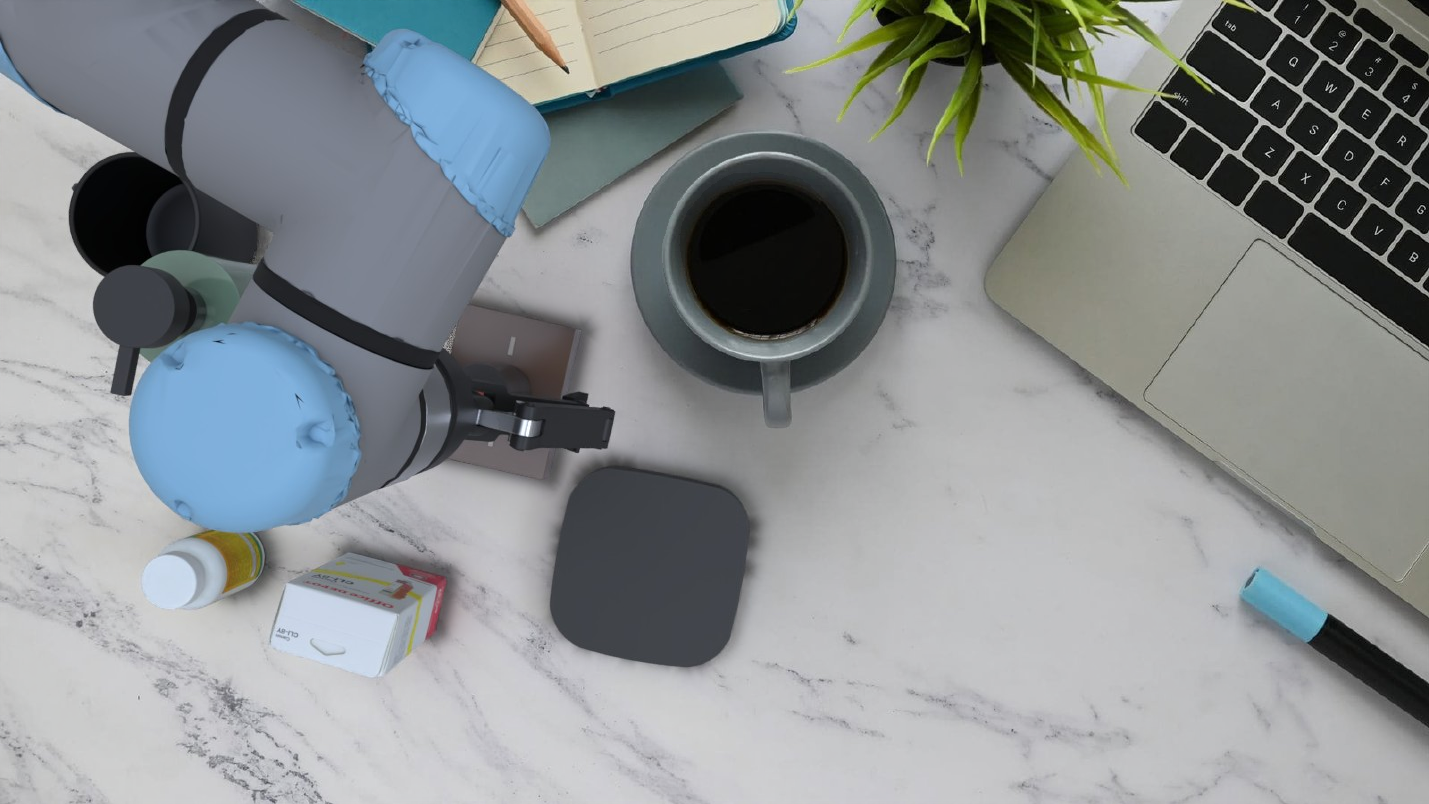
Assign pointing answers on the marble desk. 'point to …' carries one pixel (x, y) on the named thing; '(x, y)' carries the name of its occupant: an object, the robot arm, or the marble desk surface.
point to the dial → (499, 376)
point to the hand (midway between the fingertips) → (486, 389)
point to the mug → (150, 216)
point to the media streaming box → (649, 566)
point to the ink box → (357, 614)
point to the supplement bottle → (202, 569)
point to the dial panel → (533, 351)
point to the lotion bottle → (203, 288)
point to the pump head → (138, 315)
